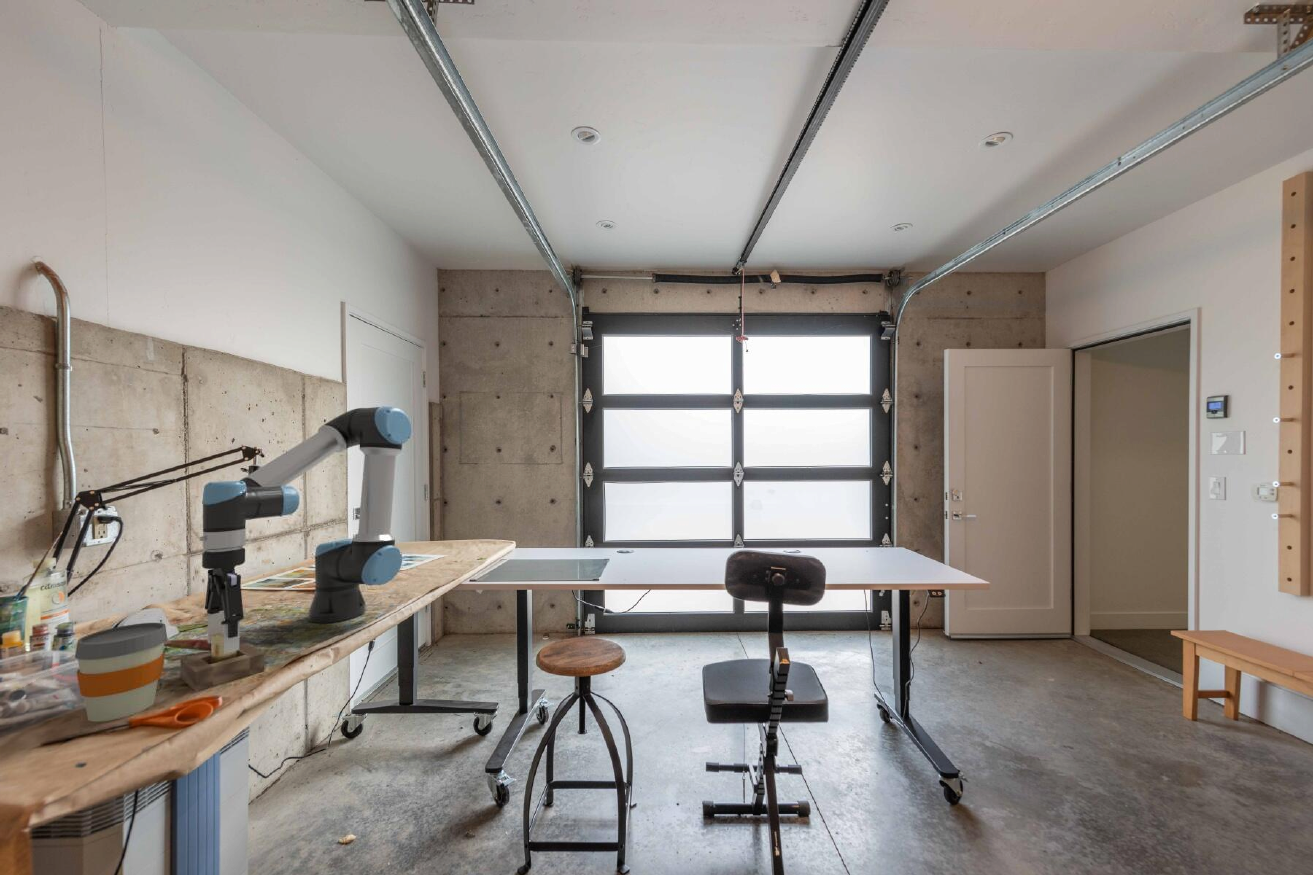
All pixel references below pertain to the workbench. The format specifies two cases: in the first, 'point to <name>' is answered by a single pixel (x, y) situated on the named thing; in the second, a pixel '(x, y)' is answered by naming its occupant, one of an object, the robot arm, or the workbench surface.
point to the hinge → (147, 620)
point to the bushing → (219, 649)
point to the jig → (221, 667)
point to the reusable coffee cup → (120, 669)
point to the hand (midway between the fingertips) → (223, 646)
